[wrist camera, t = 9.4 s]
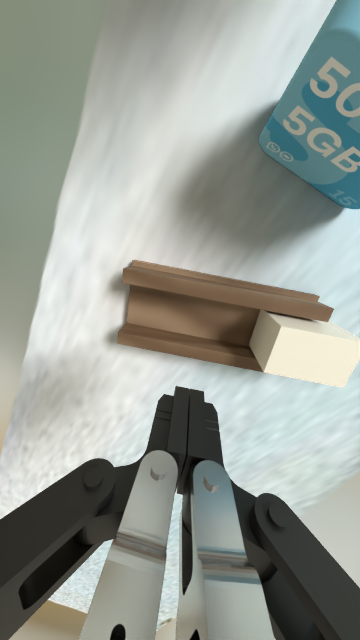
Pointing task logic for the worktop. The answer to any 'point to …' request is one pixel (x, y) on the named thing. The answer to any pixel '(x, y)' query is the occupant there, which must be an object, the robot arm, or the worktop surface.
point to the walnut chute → (204, 313)
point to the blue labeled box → (323, 111)
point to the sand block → (304, 348)
